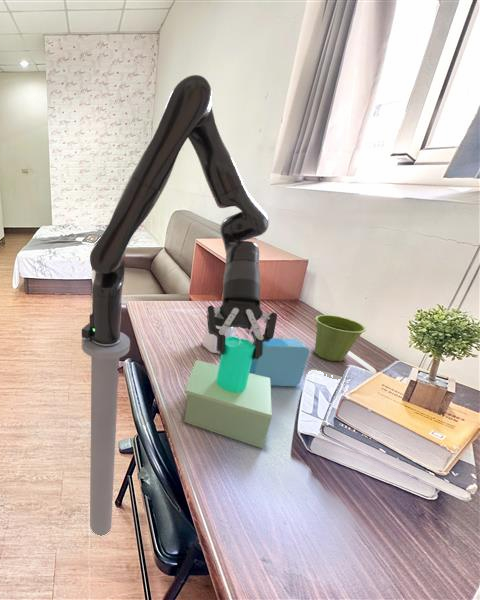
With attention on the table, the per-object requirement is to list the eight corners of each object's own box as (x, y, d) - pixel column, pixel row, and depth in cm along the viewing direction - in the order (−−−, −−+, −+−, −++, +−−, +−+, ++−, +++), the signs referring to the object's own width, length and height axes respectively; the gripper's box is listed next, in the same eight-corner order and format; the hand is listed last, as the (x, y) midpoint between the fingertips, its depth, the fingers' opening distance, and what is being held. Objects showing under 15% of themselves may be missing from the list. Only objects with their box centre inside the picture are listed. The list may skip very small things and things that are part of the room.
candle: (244, 396, 65) (255, 346, 61) (214, 386, 68) (223, 339, 64) (247, 381, 70) (258, 334, 65) (218, 372, 73) (227, 327, 68)
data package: (289, 376, 86) (300, 338, 81) (299, 387, 81) (311, 347, 77) (245, 375, 86) (253, 337, 82) (252, 385, 82) (261, 346, 78)
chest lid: (184, 393, 68) (185, 390, 67) (195, 362, 79) (195, 359, 78) (271, 418, 60) (271, 415, 60) (269, 380, 71) (270, 378, 71)
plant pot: (359, 370, 88) (373, 335, 84) (309, 360, 93) (320, 327, 89) (346, 350, 98) (358, 318, 94) (302, 343, 103) (311, 312, 99)
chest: (184, 422, 70) (188, 394, 67) (194, 388, 81) (198, 363, 78) (262, 448, 63) (271, 418, 60) (262, 407, 74) (269, 381, 71)
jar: (224, 357, 95) (231, 322, 90) (199, 348, 100) (204, 314, 96) (235, 347, 101) (242, 313, 96) (210, 338, 106) (216, 306, 102)
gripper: (209, 274, 69) (204, 346, 63) (283, 280, 65) (284, 358, 59) (205, 288, 76) (200, 355, 70) (271, 295, 72) (272, 366, 66)
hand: (238, 356), depth 64 cm, fingers closed on candle, 6 cm apart
